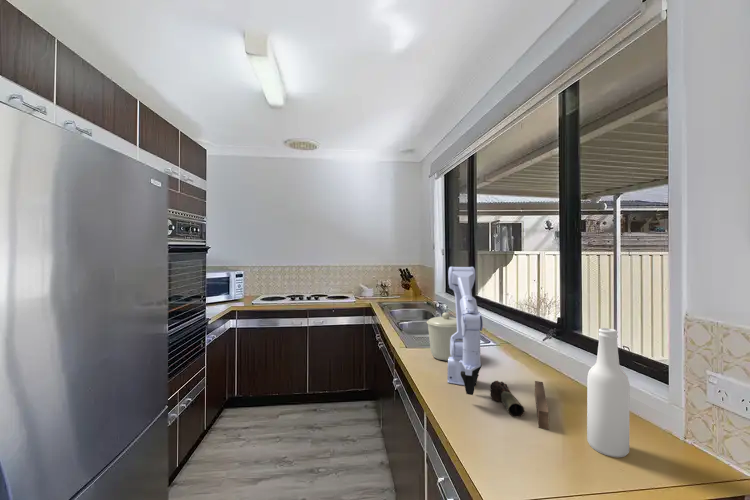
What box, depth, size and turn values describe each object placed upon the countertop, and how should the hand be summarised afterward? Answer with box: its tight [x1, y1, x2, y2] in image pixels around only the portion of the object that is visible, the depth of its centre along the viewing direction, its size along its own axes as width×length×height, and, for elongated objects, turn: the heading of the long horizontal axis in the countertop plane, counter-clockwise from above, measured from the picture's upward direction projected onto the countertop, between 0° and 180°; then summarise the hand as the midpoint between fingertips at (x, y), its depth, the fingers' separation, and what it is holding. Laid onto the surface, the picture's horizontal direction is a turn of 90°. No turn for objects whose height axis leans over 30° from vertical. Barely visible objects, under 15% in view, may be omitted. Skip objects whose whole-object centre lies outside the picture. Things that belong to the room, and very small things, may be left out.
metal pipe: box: [489, 380, 526, 418], centre depth 110 cm, size 18×7×6 cm, turn 177°
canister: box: [426, 312, 463, 362], centre depth 158 cm, size 18×18×21 cm
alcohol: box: [586, 327, 630, 458], centre depth 86 cm, size 9×9×30 cm
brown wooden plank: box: [534, 380, 550, 430], centre depth 106 cm, size 2×24×5 cm, turn 157°
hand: (471, 389), depth 114 cm, fingers open, 7 cm apart
